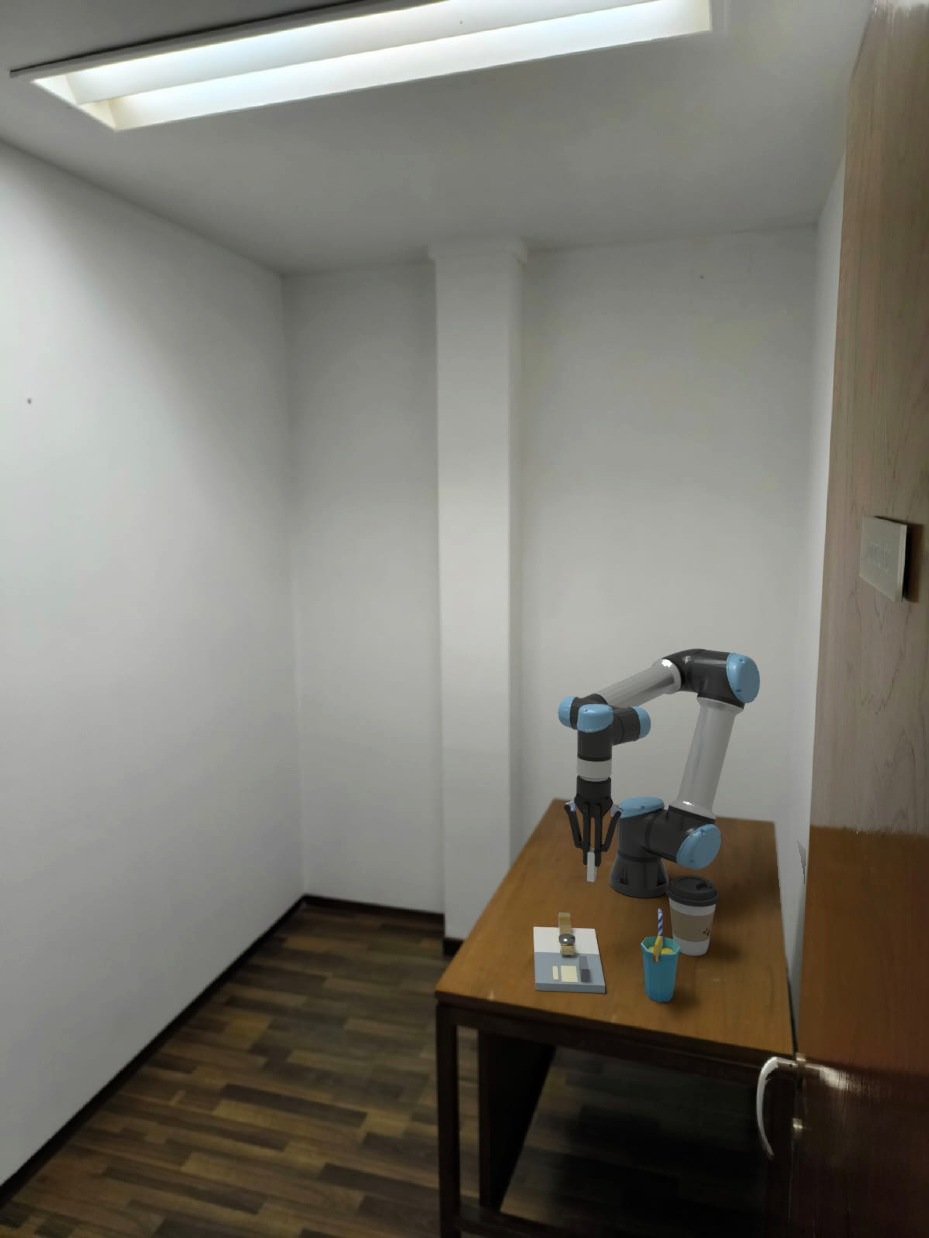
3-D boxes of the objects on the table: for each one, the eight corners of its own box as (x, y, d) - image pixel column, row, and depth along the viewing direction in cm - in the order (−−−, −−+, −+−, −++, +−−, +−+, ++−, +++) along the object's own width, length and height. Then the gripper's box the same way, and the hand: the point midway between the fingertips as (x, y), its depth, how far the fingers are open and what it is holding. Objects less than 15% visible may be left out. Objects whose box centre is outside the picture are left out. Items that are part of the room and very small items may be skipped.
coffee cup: (710, 966, 174) (713, 899, 172) (658, 952, 179) (660, 888, 178) (722, 942, 184) (724, 879, 182) (672, 930, 189) (674, 868, 187)
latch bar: (575, 954, 174) (575, 941, 174) (558, 954, 174) (559, 941, 174) (571, 925, 187) (572, 912, 187) (556, 924, 187) (556, 912, 187)
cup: (639, 971, 172) (640, 904, 170) (677, 975, 170) (679, 907, 169) (639, 1009, 158) (641, 937, 157) (680, 1014, 157) (683, 941, 155)
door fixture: (594, 935, 187) (594, 917, 186) (604, 992, 164) (605, 972, 164) (533, 933, 188) (533, 915, 187) (535, 990, 165) (535, 969, 164)
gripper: (627, 774, 178) (624, 876, 181) (568, 767, 183) (567, 867, 186) (620, 784, 171) (617, 891, 174) (560, 777, 176) (558, 881, 179)
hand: (591, 878), depth 180 cm, fingers closed
